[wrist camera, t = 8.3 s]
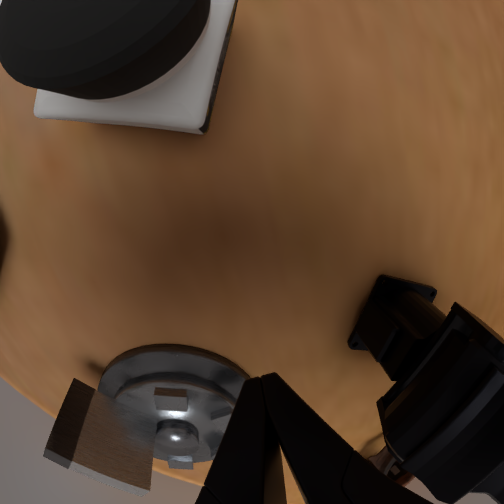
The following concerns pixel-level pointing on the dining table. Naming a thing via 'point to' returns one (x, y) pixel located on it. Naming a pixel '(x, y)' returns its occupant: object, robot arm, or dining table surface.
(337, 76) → the dining table surface
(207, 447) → the grey studded disc
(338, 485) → the robot arm
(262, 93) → the dining table surface
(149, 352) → the flange
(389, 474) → the pottery mug
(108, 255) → the dining table surface
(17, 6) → the medicine bottle
